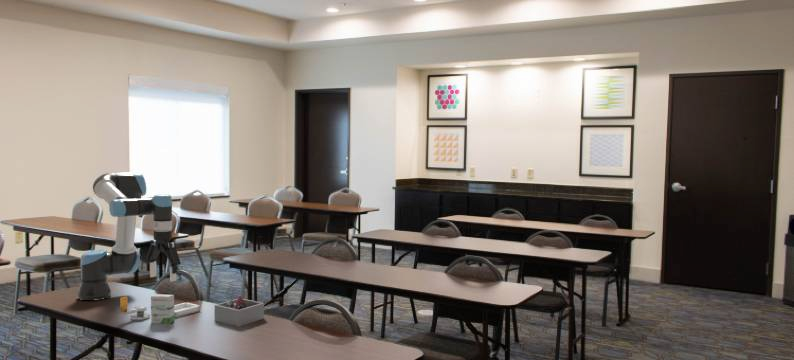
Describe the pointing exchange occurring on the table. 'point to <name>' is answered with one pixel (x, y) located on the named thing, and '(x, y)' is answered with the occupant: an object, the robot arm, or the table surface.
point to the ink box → (162, 308)
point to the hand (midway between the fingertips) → (163, 278)
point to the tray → (185, 309)
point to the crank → (124, 307)
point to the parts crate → (239, 313)
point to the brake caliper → (237, 303)
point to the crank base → (140, 316)
